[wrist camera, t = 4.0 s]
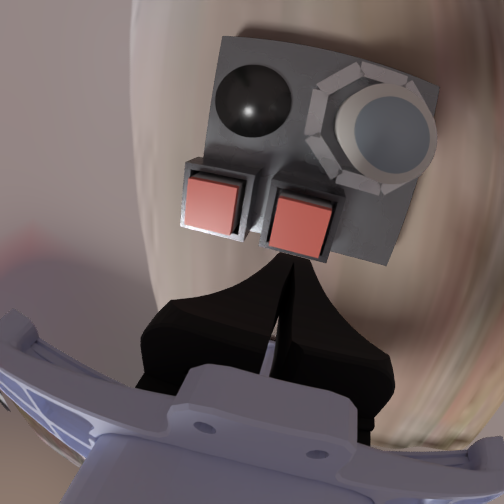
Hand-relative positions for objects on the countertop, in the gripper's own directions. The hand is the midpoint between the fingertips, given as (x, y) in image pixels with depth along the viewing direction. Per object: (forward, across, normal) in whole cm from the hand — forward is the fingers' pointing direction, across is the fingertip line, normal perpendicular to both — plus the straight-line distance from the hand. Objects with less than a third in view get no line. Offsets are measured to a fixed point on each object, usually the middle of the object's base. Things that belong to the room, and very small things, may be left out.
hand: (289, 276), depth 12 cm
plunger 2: (+8, 0, 0) cm, 8 cm away
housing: (+10, 0, -4) cm, 11 cm away
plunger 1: (+8, +5, 0) cm, 9 cm away
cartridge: (+8, -3, -7) cm, 11 cm away
